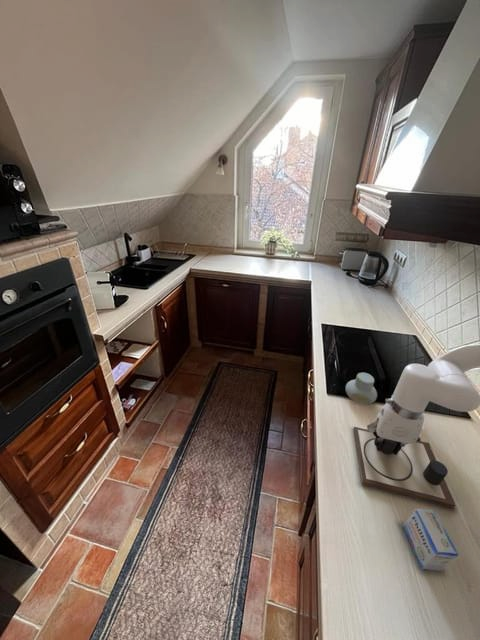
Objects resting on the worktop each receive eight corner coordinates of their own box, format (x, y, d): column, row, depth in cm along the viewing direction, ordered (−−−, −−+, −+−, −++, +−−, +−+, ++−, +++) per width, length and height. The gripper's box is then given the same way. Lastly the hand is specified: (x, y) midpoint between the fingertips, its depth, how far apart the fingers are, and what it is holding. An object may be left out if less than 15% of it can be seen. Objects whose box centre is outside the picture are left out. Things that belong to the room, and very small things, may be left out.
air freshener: (374, 394, 98) (382, 375, 94) (374, 410, 92) (382, 389, 87) (345, 385, 102) (350, 366, 97) (342, 399, 96) (349, 379, 91)
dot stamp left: (391, 444, 78) (396, 433, 76) (394, 456, 75) (400, 445, 72) (377, 440, 79) (381, 430, 76) (379, 452, 76) (384, 441, 73)
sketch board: (427, 445, 80) (429, 442, 79) (453, 508, 65) (456, 505, 64) (353, 429, 84) (354, 426, 84) (361, 484, 69) (363, 481, 68)
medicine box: (401, 526, 61) (414, 507, 57) (420, 526, 61) (434, 508, 57) (421, 570, 54) (437, 553, 50) (442, 571, 54) (460, 554, 50)
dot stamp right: (436, 472, 71) (444, 462, 68) (442, 487, 68) (450, 476, 65) (420, 468, 72) (427, 458, 69) (425, 483, 68) (433, 472, 66)
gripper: (375, 410, 66) (357, 452, 75) (447, 424, 63) (420, 467, 72) (370, 390, 73) (354, 431, 82) (435, 402, 69) (412, 444, 78)
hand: (385, 448), depth 77 cm, fingers closed on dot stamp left, 4 cm apart
